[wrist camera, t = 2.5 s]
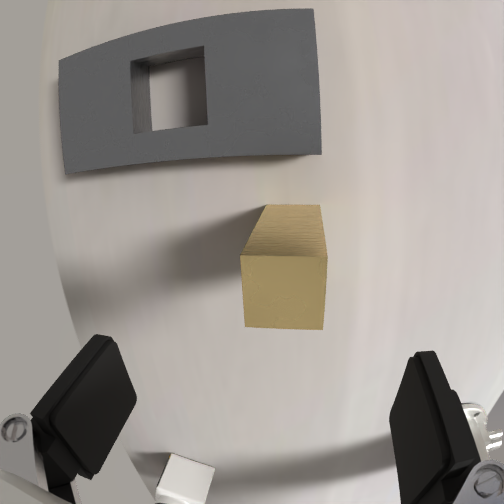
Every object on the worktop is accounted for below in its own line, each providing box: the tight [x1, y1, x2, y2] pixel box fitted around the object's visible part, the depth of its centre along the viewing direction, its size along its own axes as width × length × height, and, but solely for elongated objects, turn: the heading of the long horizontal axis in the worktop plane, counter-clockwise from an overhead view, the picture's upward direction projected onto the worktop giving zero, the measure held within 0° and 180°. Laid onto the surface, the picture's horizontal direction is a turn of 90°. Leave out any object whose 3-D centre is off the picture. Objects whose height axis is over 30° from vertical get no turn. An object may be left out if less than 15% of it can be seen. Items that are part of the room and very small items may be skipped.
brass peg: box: [240, 205, 328, 330], centre depth 20 cm, size 4×4×10 cm
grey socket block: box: [59, 9, 322, 174], centre depth 20 cm, size 20×10×3 cm, turn 93°
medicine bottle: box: [155, 453, 215, 504], centre depth 36 cm, size 7×7×12 cm
